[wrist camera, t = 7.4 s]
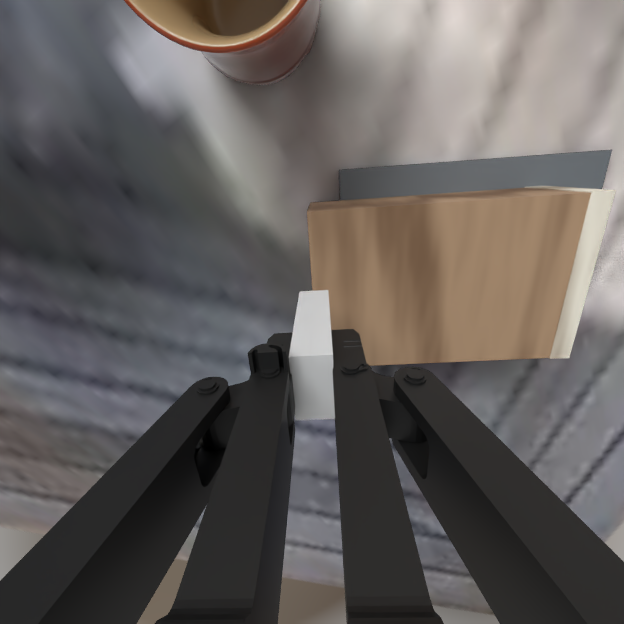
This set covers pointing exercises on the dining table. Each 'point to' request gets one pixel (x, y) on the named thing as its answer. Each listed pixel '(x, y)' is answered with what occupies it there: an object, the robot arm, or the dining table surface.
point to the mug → (238, 33)
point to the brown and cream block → (459, 271)
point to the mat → (476, 175)
